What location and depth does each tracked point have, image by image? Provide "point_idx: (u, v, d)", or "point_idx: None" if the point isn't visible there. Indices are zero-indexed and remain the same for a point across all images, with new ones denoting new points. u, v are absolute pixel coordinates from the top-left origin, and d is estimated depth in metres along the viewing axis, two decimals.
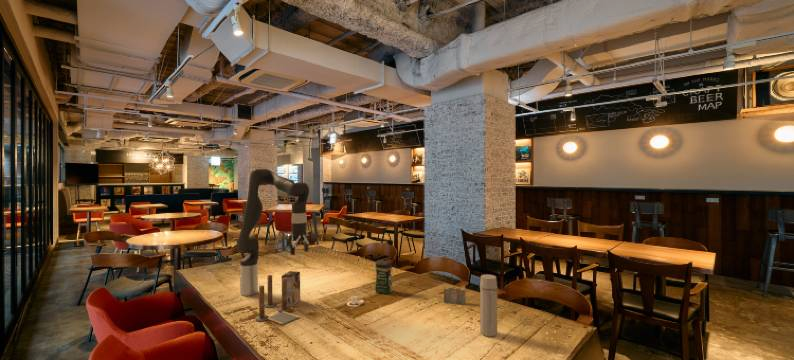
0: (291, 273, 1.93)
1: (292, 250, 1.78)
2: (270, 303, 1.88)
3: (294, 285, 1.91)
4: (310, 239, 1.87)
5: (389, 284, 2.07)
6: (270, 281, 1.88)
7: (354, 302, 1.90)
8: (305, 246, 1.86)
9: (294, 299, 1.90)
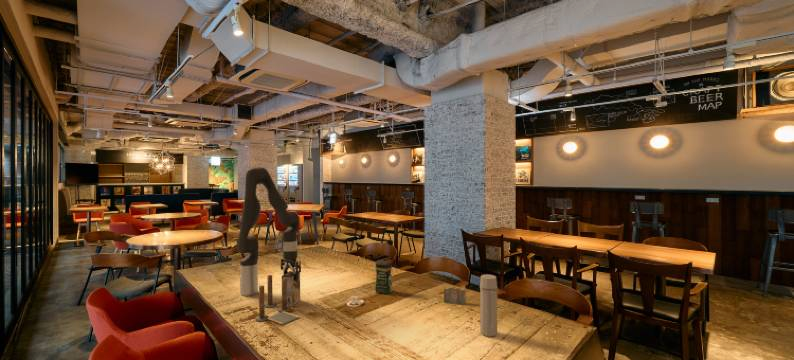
0: (291, 273, 1.93)
1: (297, 275, 1.90)
2: (270, 303, 1.88)
3: (295, 285, 1.91)
4: None
5: (389, 284, 2.07)
6: (270, 281, 1.88)
7: (354, 302, 1.90)
8: None
9: (294, 299, 1.90)
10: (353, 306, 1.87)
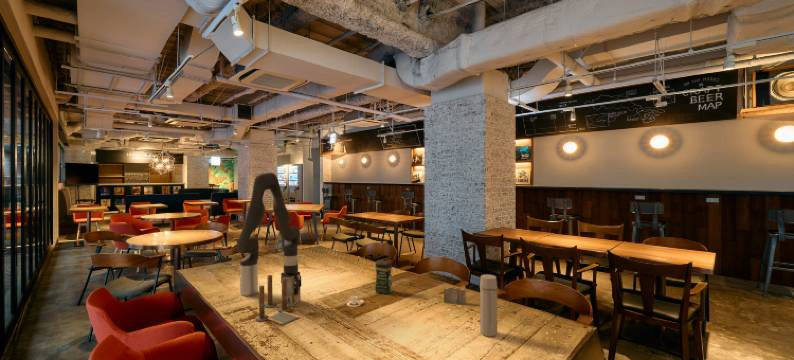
0: None
1: None
2: (270, 303, 1.88)
3: None
4: None
5: (389, 284, 2.07)
6: (270, 281, 1.88)
7: (354, 302, 1.90)
8: None
9: (294, 299, 1.90)
10: (353, 306, 1.87)
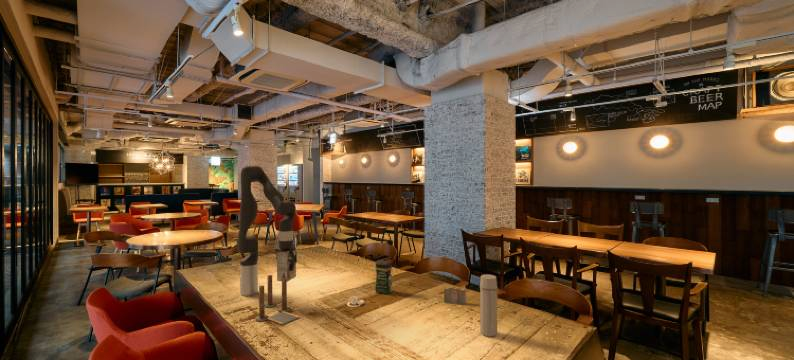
0: None
1: None
2: (270, 303, 1.88)
3: None
4: None
5: (389, 284, 2.07)
6: (270, 281, 1.88)
7: (354, 302, 1.90)
8: None
9: (289, 275, 1.88)
10: (353, 306, 1.87)
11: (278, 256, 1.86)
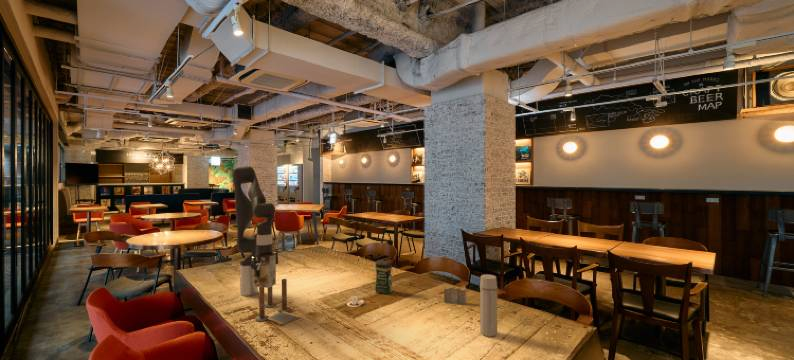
0: None
1: None
2: (270, 303, 1.88)
3: None
4: None
5: (389, 284, 2.07)
6: None
7: (354, 302, 1.89)
8: None
9: None
10: (353, 306, 1.87)
11: (270, 261, 1.77)
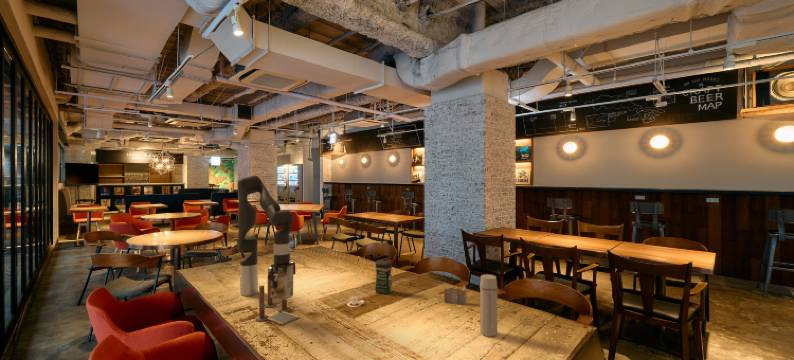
0: None
1: None
2: (270, 303, 1.88)
3: None
4: None
5: (389, 284, 2.07)
6: (270, 281, 1.88)
7: (354, 302, 1.89)
8: None
9: None
10: (353, 306, 1.87)
11: (288, 271, 1.69)
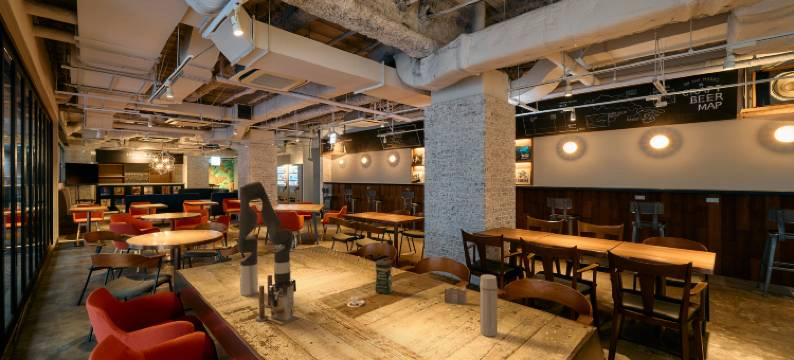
0: None
1: None
2: (270, 303, 1.88)
3: None
4: None
5: (389, 284, 2.07)
6: (270, 281, 1.88)
7: (354, 303, 1.89)
8: None
9: None
10: None
11: (288, 292, 1.69)
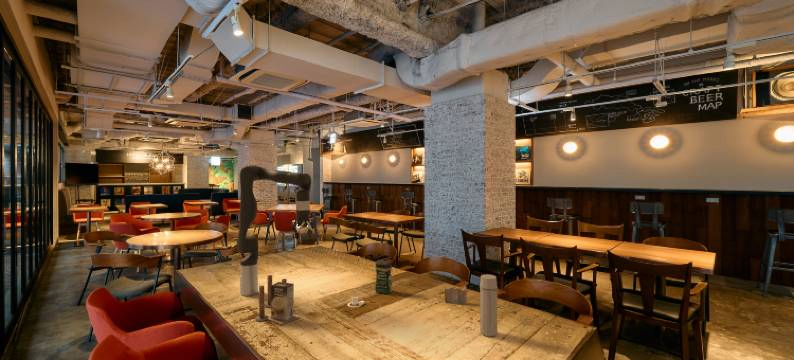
0: (282, 284, 1.72)
1: None
2: (270, 303, 1.88)
3: None
4: None
5: (389, 284, 2.07)
6: (270, 281, 1.88)
7: (355, 303, 1.89)
8: None
9: None
10: None
11: (288, 292, 1.69)
